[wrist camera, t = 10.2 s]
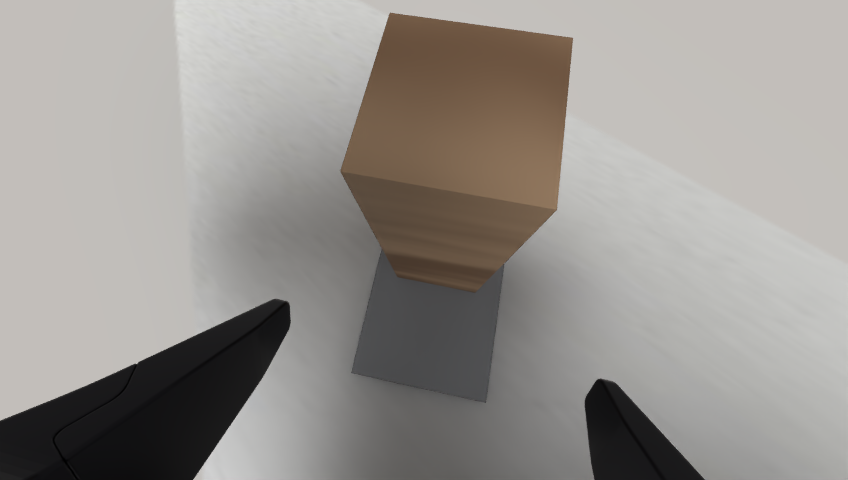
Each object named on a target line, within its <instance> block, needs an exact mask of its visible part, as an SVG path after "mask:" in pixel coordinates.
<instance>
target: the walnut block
mask: <svg viewBox="0 0 848 480" xmlns="http://www.w3.org/2000/svg"><path fill="white" fill-rule="evenodd" d="M572 43H573V38H570V37H562V36H554V35H548V34H540V33H533V32H526V31H518V30H511V29H504V28H496V27H489V26H481V25H475V24H468V23H460V22H453V21H446V20H438V19H431V18H423V17H417V16H409V15H402V14H395V13H390V14H389V17H388V20H387V24H386V27H385V30H384V33H383V36H382V40H381V43H380V46H379V49H378V52H377V56H376V59H375V62H374V65H373V68H372V72H371V75H370V78H369V81H368V84H367V88H366V91H365V94H364V97H363V100H362V104H361V107H360V110H359V113H358V116H357V120H356V123H355V126H354V129H353V132H352V135H351V139H350V142H349V145H348V148H347V151H346V155H345V158H344V161H343V164H342V167H341V171H340V172H341V174H342V175H343V177H344V179H345V181H346V183H347V185H348V186H349V188H350V190H351V192H352V194H353V196H354V198H355V199H356V201H357V203H358V205H359V207H360V209H361V211H362V212H363V214H364V216H365V218H366V220H367V222H368V223H369V225H370V227H371V229H372V231H373V233H374V235H375V236H376V238H377V240H378V242H379V244H380V246H381V248H382V249H383V251H384V253H385V255H386V257H387V259H388V260H389V262H390V264H391V266H392V268H393V270H394V272H395V273H396V275H397V277H399V278H404V279H409V280H414V281H419V282H424V283H429V284H434V285H439V286H444V287H449V288H454V289H459V290H464V291H469V292H474V293H476V291H477V290H478V289H479V288H480V287H481V286H482V285H483V284H484V283H485V282H486V281H487V280H488V279H489V278H490V277H491V276H492V275H493V274H494V273H495V272H496V271H497V270H498V269H499V268H500V267H501V266H502V265H503V264H504V263H505V262H506V261H507V260H508V259H509V258H510V257H511V256H512V255H513V254H514V253H515V252H516V251H517V250H518V249H519V248H520V247H521V246H522V245H523V244H524V243H525V242H526V241H527V240H528V239H529V238H530V237H531V236H532V235H533V234H534V233H535V232H536V231H537V229H538V228H539V227H540V226H541V225H542V224H543V223H544V222H545V221H546V220H547V219H548V218H549V217H550V216H551V215H552V214H553V213H554V212H555V211H556V210H557V202H558V192H559V181H560V170H561V160H562V149H563V138H564V128H565V117H566V107H567V96H568V85H569V74H570V64H571V53H572Z"/></svg>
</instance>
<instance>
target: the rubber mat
mask: <svg viewBox="0 0 848 480" xmlns="http://www.w3.org/2000/svg"><path fill="white" fill-rule="evenodd" d="M503 269H504V264H503V265H502V266H501V267H500V268H499V269H498V270H497V271H496V272H495V273H494V274H493V275H492V276H491V277H490V278H489V279H488V280H487V281H486V282H485V283H484V284H483V285H482V286H481V287H480V288H479V289H478V290H477V291H476V293H474V292H469V291H464V290H459V289H454V288H449V287H444V286H439V285H434V284H429V283H424V282H419V281H414V280H409V279H404V278H399V277H397V275H396V273H395V272H394V270H393V268H392V266H391V264H390V262H389V260H388V259H387V257H386V255H385V253H384V251H383V249H382V250H381V254H380V258H379V262H378V266H377V271H376V275H375V279H374V283H373V287H372V291H371V295H370V299H369V303H368V307H367V311H366V315H365V319H364V323H363V327H362V331H361V335H360V339H359V344H358V348H357V352H356V356H355V360H354V364H353V368H352V372H351V373H354V374H359V375H363V376H368V377H372V378H377V379H381V380H386V381H390V382H395V383H399V384H404V385H408V386H413V387H418V388H422V389H427V390H431V391H436V392H440V393H445V394H449V395H454V396H458V397H463V398H467V399H472V400H476V401H481V402H485V403H486V398H487V390H488V383H489V375H490V368H491V360H492V352H493V345H494V337H495V330H496V322H497V314H498V307H499V299H500V292H501V284H502V276H503Z"/></svg>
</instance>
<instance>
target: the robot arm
mask: <svg viewBox="0 0 848 480" xmlns="http://www.w3.org/2000/svg"><path fill="white" fill-rule="evenodd" d="M290 323H291V320H290V305H289V303H288V302H287V301H284V300H279V299H273V300H271V301H268V302H266V303H264V304H262V305H260V306H258V307H256V308H253V309H251V310H249V311H247V312H245V313H243V314H241V315H238V316H236V317H234V318H232V319H230V320H228V321H226V322H223V323H221V324H219V325H217V326H215V327H213V328H211V329H208V330H206V331H204V332H202V333H200V334H198V335H196V336H193V337H191V338H189V339H187V340H185V341H183V342H181V343H178V344H176V345H174V346H172V347H170V348H168V349H166V350H164V351H161V352H159V353H157V354H155V355H153V356H151V357H148V358H146V359H144V360H142V361H140V362H138V364H133V365H131V366H129V367H127V368H125V369H122V370H120V371H118V372H116V373H114V374H112V375H109V376H107V377H105V378H103V379H100V380H98V381H96V382H94V383H91V384H89V385H87V386H85V387H82V388H80V389H77V390H75V391H73V392H70V393H68V394H65V395H63V396H60V397H58V398H56V399H53V400H51V401H48V402H46V403H43V404H41V405H38V406H36V407H33V408H31V409H28V410H26V411H24V412H21V413H18V414H16V415H13V416H11V417H8V418H6V419H4V420H1V421H0V480H193V479H194V478H195V476H196V475H197V473H198V472H199V470H200V469H201V468H202V466H203V465H204V463H205V462H206V460H207V459H208V457H209V456H210V454H211V453H212V451H213V450H214V448H215V447H216V445H217V444H218V443H219V441H220V440H221V438H222V437H223V435H224V434H225V432H226V431H227V429H228V428H229V426H230V425H231V423H232V422H233V420H234V419H235V418H236V416H237V415H238V413H239V412H240V410H241V409H242V407H243V406H244V404H245V403H246V401H247V400H248V398H249V397H250V396H251V394H252V393H253V391H254V390H255V388H256V387H257V385H258V384H259V382H260V381H261V379H262V378H263V376H264V374H265V372H266V371H267V369H268V367H269V365H270V363H271V362H272V360H273V358H274V356H275V354H276V352H277V350H278V349H279V347H280V345H281V343H282V341H283V339H284V337H285V336H286V334H287V332H288V330H289V327H290ZM585 412H586V421H587V430H588V440H589V449H590V457H591V464H592V469H593V475H594V479H595V480H705V479H704V478H703V477H702V476H701V475H700V474H699V473H698V472H697V471H696V470H695V469H694V467H693V466H692V465H691V464H690V463H689V462H688V461H687V460H686V459H685V458H684V457H683V455H682V454H681V453H680V452H679V451H678V450H677V449H676V448H675V447H674V446H673V445H672V444H671V442H670V441H669V440H668V439H667V438H666V437H665V436H664V435H663V434H662V433H661V432H660V430H659V429H658V428H657V427H656V426H655V425H654V424H653V423H652V422H651V421H650V420H649V419H648V417H647V416H646V415H645V414H644V413H643V412H642V411H641V410H640V409H639V408H638V407H637V405H636V404H635V403H634V402H633V401H632V400H631V399H630V398H629V397H628V396H627V395H626V394H625V392H624V391H623V390H622V389H621V388H620V387H619V386H618V385H617V384H616V383H615V382H613V381H609V380H605V379H597V380H596V381H595V383H594V385H593V386H592V388H591V389H590V391H589V393H588V394H587V396H586V398H585Z"/></svg>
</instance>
